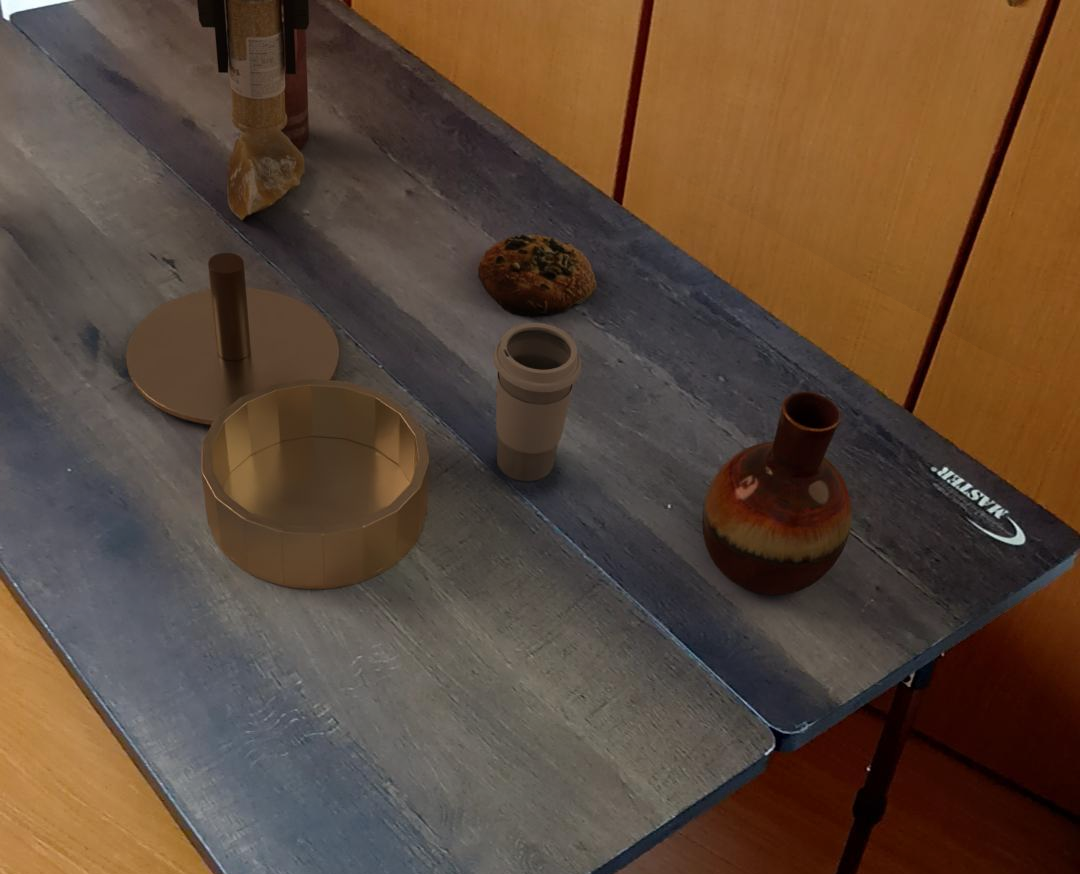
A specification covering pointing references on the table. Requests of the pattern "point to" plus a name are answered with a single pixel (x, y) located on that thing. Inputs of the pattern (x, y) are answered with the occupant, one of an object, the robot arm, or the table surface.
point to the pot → (315, 483)
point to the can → (297, 92)
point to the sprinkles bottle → (256, 65)
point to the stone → (262, 171)
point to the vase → (781, 504)
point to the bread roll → (536, 275)
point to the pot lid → (226, 345)
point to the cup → (532, 397)
